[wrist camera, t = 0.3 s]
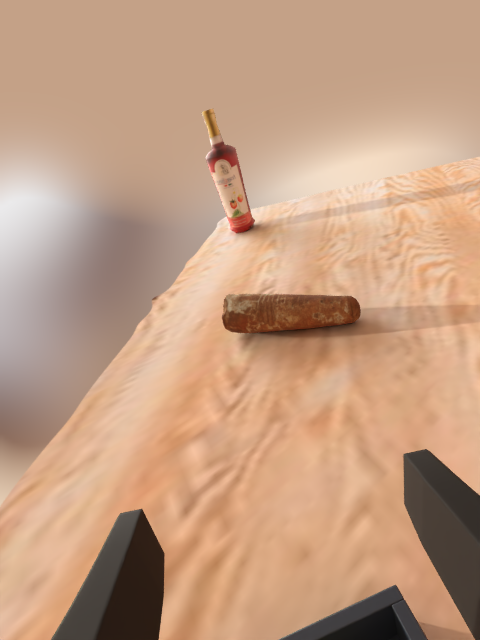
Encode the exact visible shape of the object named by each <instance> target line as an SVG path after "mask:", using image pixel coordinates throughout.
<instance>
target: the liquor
mask: <svg viewBox="0 0 480 640" xmlns="http://www.w3.org/2000/svg"><path fill="white" fill-rule="evenodd" d="M202 115H203V118H204V121H205V123H206V125H207V127H208V132H209V137H210V141H211V145H212V150H211V151H210V152H209V153H208V154H207V156H206V161H207V164H208V167H209V169H210V172H211V175H212V178H213V180H214V183H215V186H216V188H217V190H218V193H219V196H220V198H221V201H222V204H223V207H224V210H225V212H226V215H227V218H228V221H229V224H230V226H229V229H230V230H232V231H234V232H236V233H241V232H244V231H247V230H249V229H250V228H251V227H252V225H253V223H254V222H255V220H254V219H253V218H252V215H251V211H250V208H249V204H248V200H247V196H246V192H245V188H244V184H243V179H242V174H241V170H240V166H239V162H238V158H237V153H236V149H235V148H234V147H232V146H229V145H224V142H223V139H222V137H221V134H220V131H219V129H218V126H217V124H216V117H215V113H214V110H213V109H210V110H207V111H204V112H202Z"/></svg>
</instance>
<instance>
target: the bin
mask: <svg viewBox="0 0 480 640" xmlns="http://www.w3.org/2000/svg"><path fill="white" fill-rule="evenodd" d="M279 640H428V639H427V638H426V636H425V634H424V632H423V631H422V629H421V627H420V626H419V624H418V622H417V620H416V619H415V617H414V615H413V613H412V612H411V610H410V608H409V606H408V605H407V603H406V601H405V600H404V598H403V596H402V594H401V593H400V591H399V589H398V587H397V586H396V585H394V586H391V587H389V588H387V589H385V590H383V591H381V592H379V593H377V594H374V595H372V596H370V597H368V598H366V599H364V600H362V601H360V602H357V603H355V604H353V605H351V606H349V607H347V608H345V609H343V610H340V611H338V612H336V613H334V614H332V615H330V616H328V617H326V618H323V619H321V620H319V621H317V622H315V623H313V624H311V625H309V626H306V627H304V628H302V629H300V630H298V631H296V632H294V633H292V634H289V635H287V636H285V637H283V638H281V639H279Z"/></svg>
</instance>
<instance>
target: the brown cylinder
mask: <svg viewBox="0 0 480 640" xmlns="http://www.w3.org/2000/svg"><path fill="white" fill-rule="evenodd" d="M223 307H224V309H223V310H224V311H223V315H222V320H223V324H224V326H225V328H226V329H227V330H229V331H231V332H237V333H258V332H269V331H278V330H294V329H307V328H317V327H322V326H335V325H341V324H347V323H353V322H355V321H356V320H357V319H359V317H360V305H359V303H358V301H357V300H356V299H355V298H353V297H351V296H326V295H290V294H283V295H282V294H239V295H227V296H226V297H225V299H224V305H223Z"/></svg>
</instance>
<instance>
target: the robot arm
mask: <svg viewBox="0 0 480 640" xmlns="http://www.w3.org/2000/svg"><path fill="white" fill-rule="evenodd" d="M404 504H405V507H406V509H407V511H408V514H409V516H410V518H411V521H412V523H413V525H414V528H415V530H416V532H417V534H418V536H419V539H420V541H421V543H422V545H423V547H424V549H425V551H426V552H427V554H428V556H429V558H430V560H431V562H432V563H433V565H434V567H435V569H436V571H437V572H438V574H439V576H440V578H441V579H442V581H443V583H444V585H445V587H446V588H447V590H448V592H449V594H450V595H451V597H452V599H453V601H454V603H455V604H456V606H457V608H458V610H459V611H460V613H461V615H462V617H463V619H464V620H465V622H466V624H467V626H468V628H469V629H470V631H471V633H472V635H473V636H474V638H475V640H480V495H478V494H477V493H476V492H475V491H474V490H473V489H471V488H470V487H469V486H468V485H467V484H466V483H464V482H463V481H462V480H461V479H460V478H459V477H458V476H456V475H455V474H454V473H453V472H452V471H451V470H450V469H449V468H448V467H446V466H445V465H444V464H443V463H442V462H441V461H440V460H439V459H438V458H437V457H435V456H434V455H433V454H432V453H431V452H430V451H428V450H427V449H425V450H420V451H415V452H411V453H406V454H404ZM163 597H164V552H163V550H162V548H161V546H160V544H159V542H158V540H157V538H156V536H155V534H154V532H153V530H152V528H151V526H150V524H149V522H148V520H147V518H146V516H145V514H144V512H143V510H142V509H139V510H134V511H129V512H125V513H120V515H119V516H118V518H117V520H116V522H115V524H114V526H113V527H112V529H111V531H110V533H109V535H108V537H107V539H106V541H105V543H104V545H103V547H102V549H101V551H100V553H99V555H98V557H97V559H96V561H95V562H94V564H93V566H92V568H91V570H90V572H89V574H88V576H87V578H86V579H85V581H84V583H83V585H82V587H81V588H80V590H79V592H78V594H77V596H76V598H75V599H74V601H73V603H72V605H71V607H70V608H69V610H68V612H67V614H66V615H65V617H64V619H63V620H62V622H61V624H60V625H59V627H58V629H57V631H56V632H55V634H54V636H53V637H52V639H51V640H158V639H159V631H160V623H161V614H162V606H163Z"/></svg>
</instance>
